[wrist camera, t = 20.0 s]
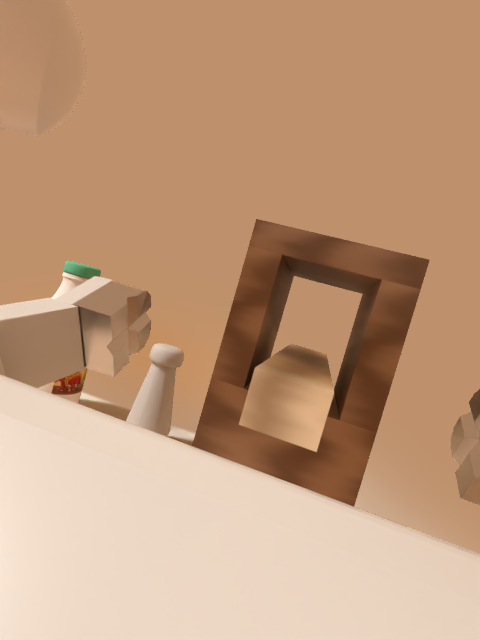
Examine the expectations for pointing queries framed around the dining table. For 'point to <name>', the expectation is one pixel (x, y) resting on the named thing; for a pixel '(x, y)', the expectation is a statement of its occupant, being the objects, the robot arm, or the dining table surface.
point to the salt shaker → (157, 391)
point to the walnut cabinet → (356, 370)
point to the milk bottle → (71, 278)
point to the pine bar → (290, 396)
